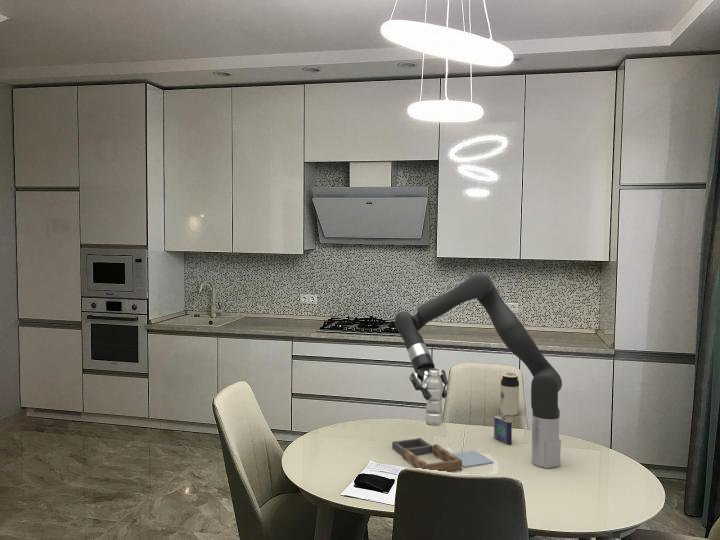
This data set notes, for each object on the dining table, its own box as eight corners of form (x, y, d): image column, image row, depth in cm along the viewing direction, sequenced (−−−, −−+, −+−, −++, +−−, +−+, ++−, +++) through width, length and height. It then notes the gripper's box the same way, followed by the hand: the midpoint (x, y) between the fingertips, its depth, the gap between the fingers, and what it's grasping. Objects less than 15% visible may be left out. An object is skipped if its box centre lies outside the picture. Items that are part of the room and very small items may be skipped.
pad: (493, 463, 218) (493, 461, 218) (464, 467, 213) (464, 466, 213) (474, 451, 229) (474, 450, 229) (446, 456, 224) (446, 454, 224)
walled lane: (461, 470, 211) (461, 460, 211) (426, 476, 206) (426, 466, 205) (436, 453, 227) (436, 444, 227) (402, 458, 222) (402, 449, 222)
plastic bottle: (430, 421, 222) (431, 366, 221) (447, 424, 218) (447, 369, 216) (421, 425, 217) (421, 370, 216) (437, 429, 213) (437, 372, 211)
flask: (492, 438, 244) (492, 412, 244) (498, 437, 246) (498, 411, 245) (508, 445, 236) (508, 418, 235) (513, 444, 237) (514, 417, 237)
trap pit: (432, 452, 228) (432, 446, 227) (404, 457, 223) (404, 450, 223) (420, 444, 237) (420, 437, 237) (392, 448, 232) (392, 441, 232)
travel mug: (516, 411, 282) (517, 372, 280) (519, 416, 274) (520, 376, 273) (499, 410, 282) (500, 372, 281) (501, 415, 274) (502, 376, 273)
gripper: (406, 354, 220) (422, 394, 210) (441, 351, 225) (458, 390, 215) (400, 365, 225) (415, 405, 215) (434, 362, 231) (450, 401, 220)
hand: (436, 397), depth 215 cm, fingers closed on plastic bottle, 6 cm apart
